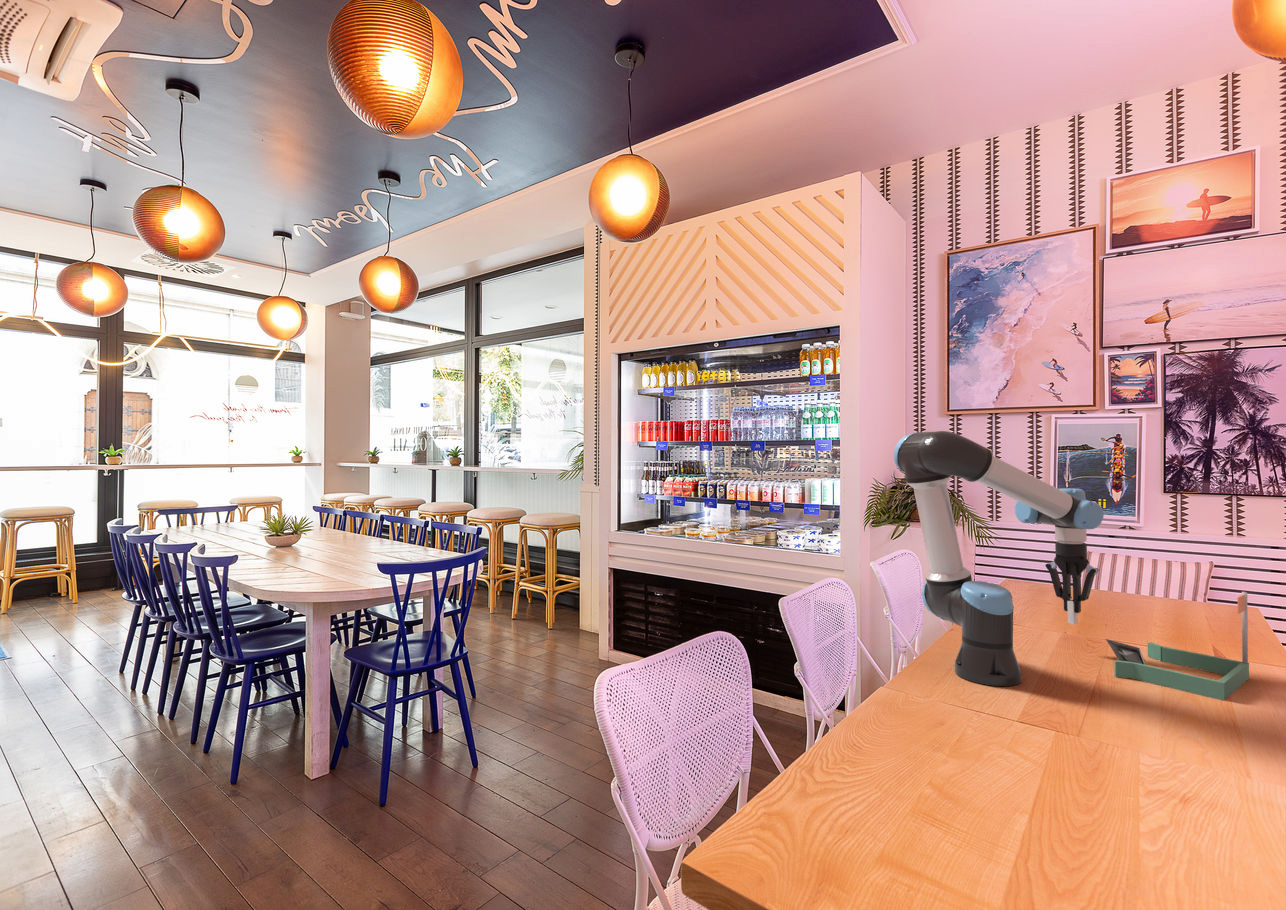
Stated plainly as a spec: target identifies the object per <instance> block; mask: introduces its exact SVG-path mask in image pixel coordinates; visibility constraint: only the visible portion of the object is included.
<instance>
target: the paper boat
mask: <svg viewBox="0 0 1286 910" xmlns="http://www.w3.org/2000/svg"><path fill="white" fill-rule="evenodd" d="M1105 641H1106V643H1107V644H1108V645H1109V647H1110V648H1111V650H1112V652H1113V653H1114V655H1115V656H1116V658H1117V660H1118V661H1127V662H1134V663H1140V664H1144V665H1147V663H1146V661H1145V659H1144V656H1143V654H1142V651H1141V648H1140V647H1137V646H1134V645H1131V644H1127V643H1123V642H1119V641H1115V640H1112V639H1109V638H1105Z"/></svg>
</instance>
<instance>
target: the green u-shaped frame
mask: <svg viewBox="0 0 1286 910" xmlns="http://www.w3.org/2000/svg"><path fill="white" fill-rule="evenodd" d="M1237 614H1238V615H1239V614H1241V637H1242V638H1241V646H1242V647H1241V648H1242V649H1241V650H1242V651H1241V654H1242V655H1241V658H1242V660H1241V661H1239V660H1235V659H1229V658H1226V657H1225V658H1224V657H1221V656H1220V657H1219V656H1216V655H1215V656H1213V655H1209V654H1204V653H1199V652H1193V651H1189V650H1185V649H1179V648H1173V647H1168V646H1164V645H1161V644H1159V643H1154V642H1147V657H1148V656H1149V657H1148V658H1150V657H1151V658H1150V659H1153V658H1154V659H1153V660H1156V659H1157V660H1156V661H1158V660H1160V661H1159V662H1162V661H1163V662H1162V663H1166V662H1168V663H1167V664H1171V663H1173V664H1172V665H1175V664H1177V666H1180V665H1182V666H1181V667H1185V666H1187V667H1186V668H1190V667H1192V668H1191V669H1194V668H1197V669H1196V670H1199V669H1202V670H1201V671H1204V670H1206V671H1205V672H1208V671H1210V672H1209V673H1213V672H1215V674H1218V673H1220V674H1219V675H1223V674H1224V675H1223V677H1221V678H1220V679H1219V680H1218V679H1212V678H1208V677H1203V676H1198V675H1194V674H1189V673H1185V672H1180V671H1176V670H1171V669H1167V668H1162V667H1157V666H1154V665H1153V666H1152V665H1148V664H1146V665H1144V664H1140V663H1134V662H1127V661H1119V660H1118V659H1117V660H1115V659H1114V660H1113V664H1114V665H1113V671H1114V672H1113V675H1114V677H1115V678H1119V677H1124V678H1123V679H1128V678H1132V679H1131V680H1135V679H1137V680H1136V681H1139V680H1142V681H1141V682H1144V681H1145V683H1148V682H1150V683H1149V684H1152V683H1154V684H1153V685H1156V684H1158V685H1157V686H1161V685H1162V686H1161V687H1165V686H1166V688H1169V687H1170V689H1173V688H1174V690H1177V689H1178V690H1179V691H1181V692H1186V691H1187V692H1186V693H1191V694H1194V693H1195V695H1199V696H1202V697H1207V698H1211V699H1216V700H1220V701H1226V699H1228V698H1229V697H1230V696H1231V695H1232V694H1234V692H1236V691H1237V690H1238V689H1239V688H1241V687H1242V686H1243V685H1244V684H1245V683H1246V682H1247V681H1248V680H1250V663H1249V655H1248V654H1249V652H1248V651H1249V648H1248V647H1249V646H1248V645H1249V643H1248V642H1249V641H1248V639H1249V638H1248V635H1249V633H1248V632H1249V631H1248V627H1249V626H1248V623H1249V622H1248V619H1249V618H1248V616H1249V615H1248V592H1247V591H1241V595H1239V596H1238V597H1237ZM1246 680H1247V681H1246ZM1245 681H1246V682H1245ZM1244 682H1245V683H1244ZM1243 683H1244V684H1243ZM1242 684H1243V685H1242ZM1235 690H1236V691H1235Z"/></svg>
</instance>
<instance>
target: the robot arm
mask: <svg viewBox="0 0 1286 910" xmlns="http://www.w3.org/2000/svg"><path fill="white" fill-rule="evenodd" d="M893 461H894V464H895V465H896V467H897V468H898V469H899V470H900V471H901V472H902V473H904V477H905V482H906V484H907V485H908V486H910V487H911V488H912V489H913V493H914V496H915V503H916V507H917V511H918V513H917V514H918V517H919V522H920V527H921V532H922V538H923V541H924V542H923V543H924V547H925V551H926V557H927V562H928V566H929V571H928V572H926V574H925V582H924V586H923V587H922V588H921V599H922V602H923V605H924V606H925V608H926V609H927V610H928V611H929V612H930V613H931V614H932V615H934V616H935V617H938V618H939V619H941V620H944V621H947V622H949V623H952V624H955V625H957V626H959V627H961V645H960V648H959V650H958V652H957V655H956V658H955V662H954V673H955V675H957V676H958V677H960V678H962V679H964V680H967V681H970V682H974V683H977V684H981V685H986V686H994V687H995V686H996V687H1011V686H1016V685H1019V684H1020V683H1022V670H1021V668H1020V664H1019V663H1018V659H1017V656H1016V654H1015V651H1014V608H1015V607H1014V601H1013V595H1012V593H1011V592H1010V591H1009V589H1007V588H1006V587H1004V586H1001V585H1000V584H996V583H993V582H991V583H990V582H987V581H982V580H980V581H979V580H973V578H972V574H971V573H972V572H971V570H969V569H967V568H966V567H964V564H963V558H962V553H961V550H960V544H959V540H958V534H957V528H956V524H955V519H954V515H953V507H952V504H951V498H950V494H949V490H948V482H949V481H950V479H951V478H952V477H956V478H960V479H963V480H964V481H965V480H966V481H967V482H970V483H975V482H978V483H979V484H982V485H984V486H987V487H988V488H991V489H993V490H995V491H996V492H999V493H1001V494H1003V495H1005V496H1006V497H1009V498H1011V499H1013V500H1015V501H1016V503H1015V505H1014V513H1015V514H1014V515H1015V517H1016V518H1017V520H1018V521H1019V522H1021V523H1023V524H1032V525H1033V524H1034V525H1035V524H1044V525H1045V524H1046V525H1052V526H1054V539H1055V540H1056V541H1055V547H1054V548H1055V551H1054V552H1055V557H1054V559H1053V561H1052V562H1048V563H1045V564H1044V565H1045V567H1046V569H1047V570H1048V573H1049V575H1050V579H1051V582H1052V586H1053V590H1054V592H1055V596H1056V597H1057V598H1061V599H1062V600H1063V610H1064V612H1067V624H1069V625H1072V626H1073V625H1076V624H1078V614H1080V613H1081V612H1082V602H1084V601H1087V600H1089V597H1090V593H1091V590H1092V586H1093V583H1094V581H1095V580H1094V579H1095V577H1096V575H1097V574H1098V572H1099V570H1100V569H1099V568H1097V567H1093V566H1092V565H1091V564H1090V561H1089V559H1088V545H1087V543H1086V542H1087V530H1094V529H1097V528H1098V527H1099V526H1100V525H1101V524H1102V522H1103V519H1104V510H1103V508H1102V506H1101V505H1100V504H1099V503H1098V502H1096V501H1093V500H1088V499H1086V498H1087V497H1086V492H1085V490H1083V489H1081V488H1072V487H1071V488H1068V487H1067V488H1066V487H1065V488H1064V487H1063V488H1057V487H1055V486H1053V485H1052V484H1050V483H1047V482H1045V481H1043V480H1042V479H1039V478H1038V477H1035V476H1033V475H1031V474H1030V473H1027V472H1026V471H1023V470H1021V469H1019V468H1018V467H1016V466H1013V465H1012V464H1010V463H1008V462H1006V461H1004V460H1002V459H1000V458H998V457H996V456H994V453H993V451H992V450H990V448H987V447H985V446H983V445H982V444H979V443H977V442H975V441H974V440H972V439H969V438H967V437H965V436H963V435H960V434H958V433H956V432H952V431H947V430H938V431H920V432H919V431H918V432H913V433H910V434H909V433H908V434H906V435H904V436H903V437H901V438H900V440H898V442H897V444H896V445H895V448H894V451H893ZM1057 568H1058V569H1059V570H1060V571H1061V577H1062V583H1061V579H1060V574H1059V571H1058V569H1057ZM1085 570H1086V576H1085V579H1084V583H1083V587H1082V573H1083V572H1084V571H1085ZM1071 578H1072V579H1071ZM1071 580H1072V581H1071ZM1071 583H1072V584H1071Z"/></svg>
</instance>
